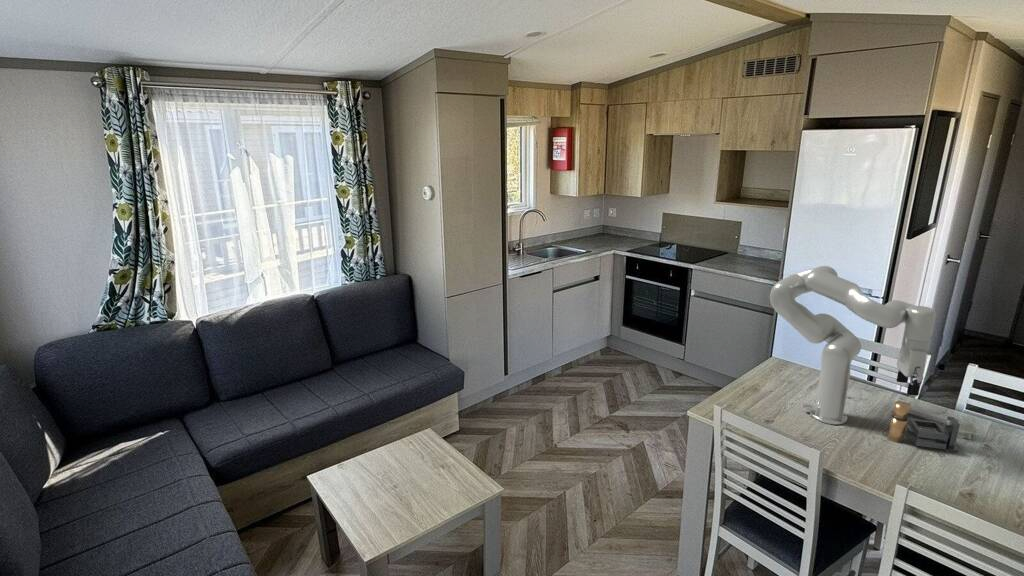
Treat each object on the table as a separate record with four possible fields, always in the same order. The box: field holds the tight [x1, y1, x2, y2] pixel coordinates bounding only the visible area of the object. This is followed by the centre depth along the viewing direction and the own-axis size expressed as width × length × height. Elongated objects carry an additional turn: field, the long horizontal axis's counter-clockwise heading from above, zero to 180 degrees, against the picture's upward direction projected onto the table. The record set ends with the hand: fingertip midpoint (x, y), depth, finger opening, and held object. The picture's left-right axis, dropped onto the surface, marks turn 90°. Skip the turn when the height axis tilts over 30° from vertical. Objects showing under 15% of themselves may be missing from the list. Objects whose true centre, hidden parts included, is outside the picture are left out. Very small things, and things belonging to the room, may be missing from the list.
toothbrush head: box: [901, 400, 978, 440], centre depth 201 cm, size 5×7×25 cm
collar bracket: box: [905, 416, 960, 454], centre depth 188 cm, size 9×13×10 cm
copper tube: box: [887, 400, 910, 443], centre depth 190 cm, size 4×4×14 cm
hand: (906, 388), depth 186 cm, fingers open, 9 cm apart
